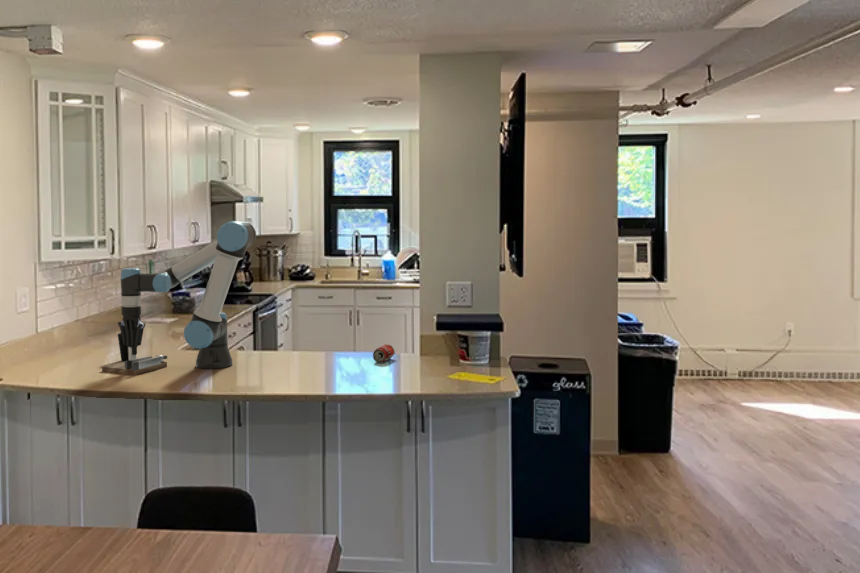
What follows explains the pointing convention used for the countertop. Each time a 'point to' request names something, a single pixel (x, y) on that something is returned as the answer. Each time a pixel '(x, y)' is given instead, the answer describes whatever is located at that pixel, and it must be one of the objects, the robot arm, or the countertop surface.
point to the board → (121, 368)
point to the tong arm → (129, 363)
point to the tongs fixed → (148, 362)
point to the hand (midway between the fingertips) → (132, 362)
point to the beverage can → (383, 353)
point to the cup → (123, 349)
